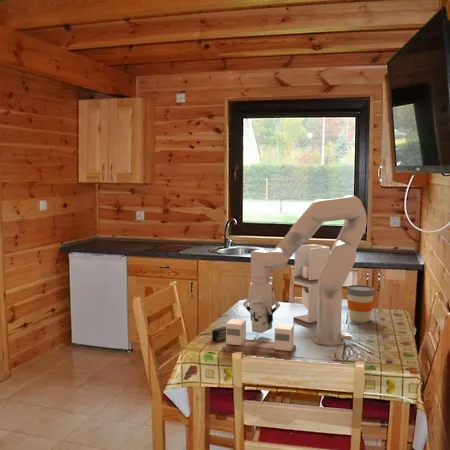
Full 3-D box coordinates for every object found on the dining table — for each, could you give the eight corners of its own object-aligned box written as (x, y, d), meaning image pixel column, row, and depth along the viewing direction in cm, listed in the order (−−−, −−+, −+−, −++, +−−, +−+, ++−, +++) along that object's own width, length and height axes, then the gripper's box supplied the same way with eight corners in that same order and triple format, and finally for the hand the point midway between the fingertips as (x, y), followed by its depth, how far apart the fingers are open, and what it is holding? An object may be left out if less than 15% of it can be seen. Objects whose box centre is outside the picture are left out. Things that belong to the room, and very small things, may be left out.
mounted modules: (293, 345, 200) (293, 324, 200) (289, 351, 194) (290, 330, 193) (231, 338, 208) (231, 318, 207) (225, 343, 201) (225, 323, 200)
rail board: (295, 348, 203) (295, 343, 203) (290, 358, 192) (290, 353, 191) (231, 341, 211) (231, 336, 211) (222, 350, 199) (222, 345, 199)
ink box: (262, 326, 221) (262, 299, 220) (272, 328, 218) (272, 300, 217) (251, 331, 214) (250, 303, 213) (261, 333, 211) (260, 304, 210)
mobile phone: (214, 330, 209) (244, 323, 218) (210, 329, 212) (239, 322, 221) (214, 342, 210) (244, 335, 219) (210, 340, 212) (239, 333, 221)
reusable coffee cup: (340, 318, 246) (341, 287, 245) (357, 314, 254) (358, 283, 252) (361, 324, 236) (363, 291, 235) (379, 320, 244) (380, 288, 242)
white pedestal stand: (312, 317, 246) (313, 244, 243) (327, 323, 238) (330, 247, 234) (293, 321, 240) (295, 245, 237) (308, 327, 231) (310, 248, 228)
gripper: (283, 278, 215) (284, 321, 217) (242, 277, 220) (244, 319, 222) (279, 282, 208) (280, 326, 210) (237, 281, 213) (239, 324, 215)
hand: (261, 322), depth 216 cm, fingers closed on ink box, 6 cm apart
